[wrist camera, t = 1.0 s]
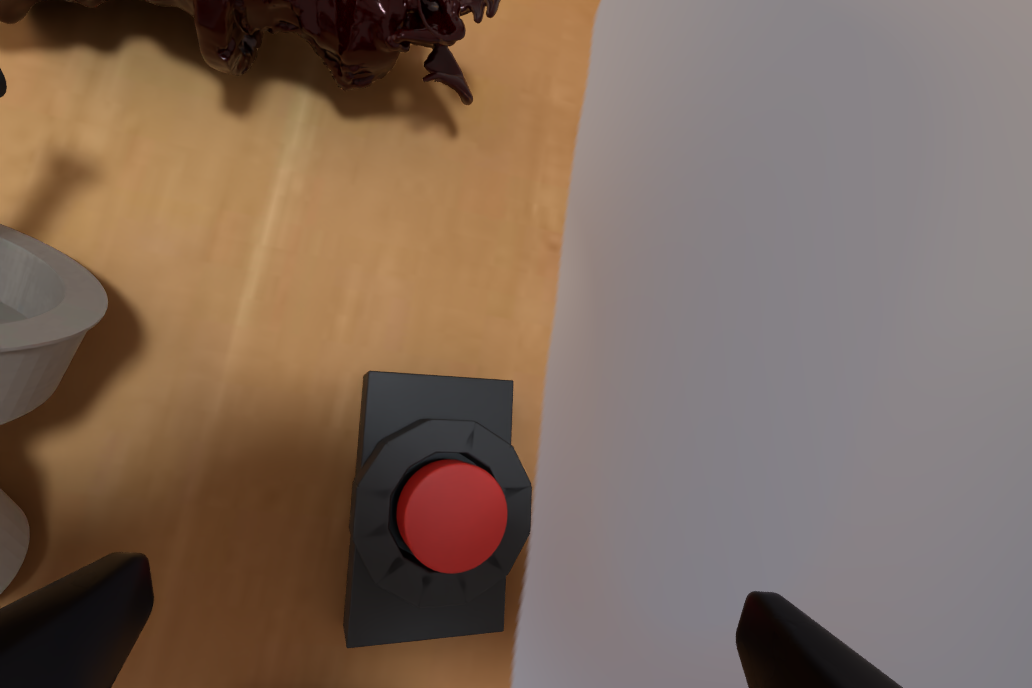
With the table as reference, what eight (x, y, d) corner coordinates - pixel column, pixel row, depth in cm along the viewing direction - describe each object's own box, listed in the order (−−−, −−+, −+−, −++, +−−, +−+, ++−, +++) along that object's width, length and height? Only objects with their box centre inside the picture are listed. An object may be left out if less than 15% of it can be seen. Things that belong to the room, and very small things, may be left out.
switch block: (492, 612, 23) (527, 649, 19) (336, 626, 21) (341, 672, 17) (502, 383, 24) (535, 378, 21) (357, 374, 22) (366, 366, 19)
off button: (490, 558, 20) (506, 570, 18) (392, 563, 18) (399, 578, 17) (494, 459, 20) (510, 463, 19) (399, 458, 19) (407, 462, 17)
